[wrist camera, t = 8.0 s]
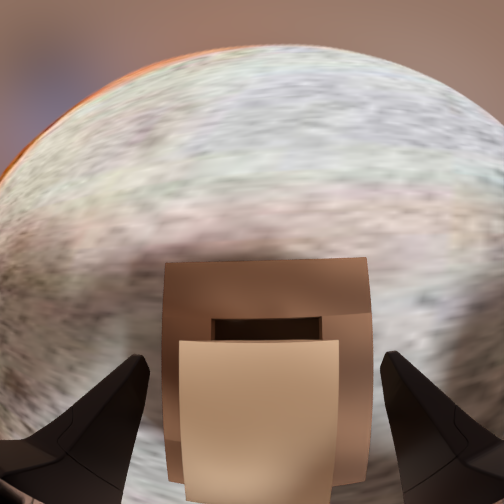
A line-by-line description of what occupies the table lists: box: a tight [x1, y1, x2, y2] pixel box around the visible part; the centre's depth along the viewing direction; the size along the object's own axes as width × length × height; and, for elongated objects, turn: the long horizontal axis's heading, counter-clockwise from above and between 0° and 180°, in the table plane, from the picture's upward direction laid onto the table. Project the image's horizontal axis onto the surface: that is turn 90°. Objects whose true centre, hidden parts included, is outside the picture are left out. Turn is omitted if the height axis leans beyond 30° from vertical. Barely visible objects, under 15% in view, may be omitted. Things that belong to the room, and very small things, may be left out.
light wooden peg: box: [179, 339, 339, 504], centre depth 11 cm, size 4×4×12 cm
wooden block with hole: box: [162, 257, 373, 487], centre depth 15 cm, size 13×11×6 cm
